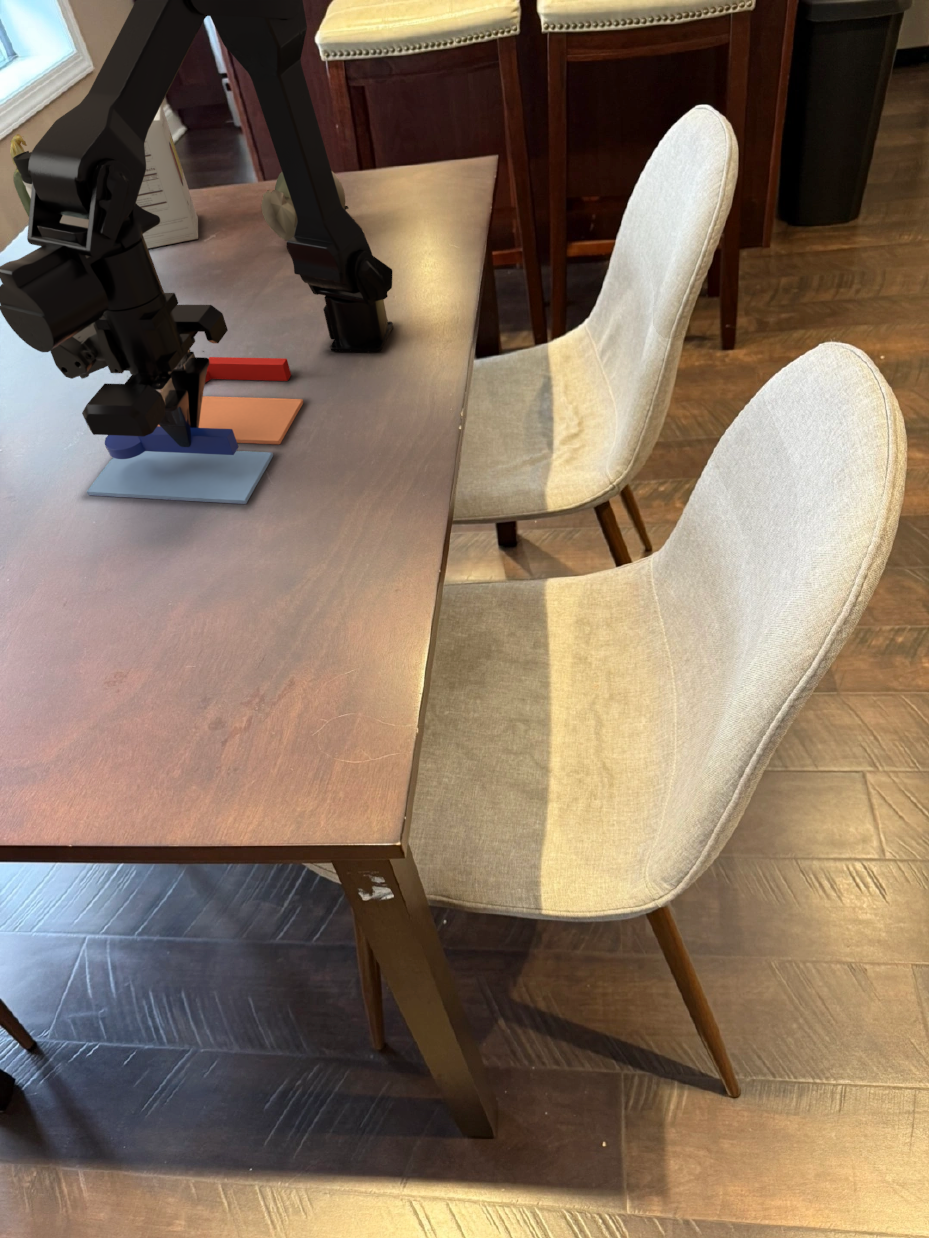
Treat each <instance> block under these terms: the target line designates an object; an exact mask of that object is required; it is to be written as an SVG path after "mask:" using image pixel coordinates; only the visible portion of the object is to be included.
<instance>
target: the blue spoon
mask: <svg viewBox="0 0 929 1238" xmlns="http://www.w3.org/2000/svg"><path fill="white" fill-rule="evenodd" d="M104 446H105V448H106V450H107V452H108V455H110V457H112V458H116V459H129V458H133V457H136V456H138V455H140V454H142V453H143V452H145V451H152V452H175V453H198V454H221V455H234V454H235V452H236V451H238V449H239V443H237V441H236V438H235V435H234V433H233V430H232V429H217V428H191V445H190V447H181V446H179V445H178V444H177V443H176V442H175V441H174V440H173V439H172V438H171V437H170V436H169V435H168V434H167V432H166V431H165V430H164V429H163V428H162V427H161V426H157V427H156V429H155V430H154V432H153V433H151V434H149V435H146V436H119V435H106V437H105V439H104Z"/></svg>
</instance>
